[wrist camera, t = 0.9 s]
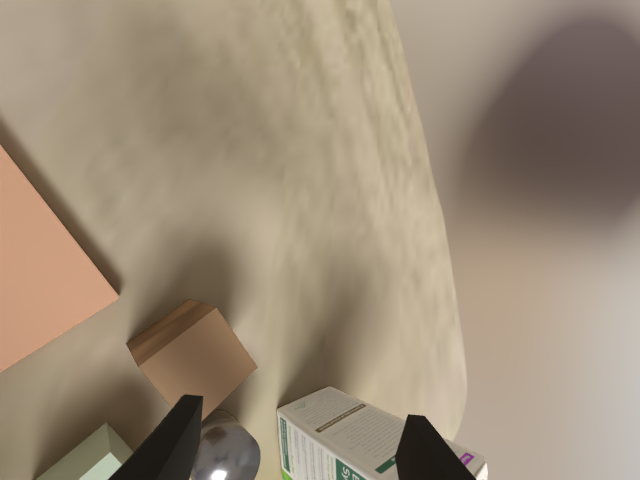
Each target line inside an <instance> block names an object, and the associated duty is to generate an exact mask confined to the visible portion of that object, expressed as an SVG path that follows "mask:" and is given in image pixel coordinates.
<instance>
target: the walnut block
mask: <svg viewBox="0 0 640 480" xmlns="http://www.w3.org/2000/svg"><path fill="white" fill-rule="evenodd" d="M126 344H127V346H128V348H129V350H130V352H131V354H132V356H133V358H134V360H135V362H136V363H137V365H138V367H139V368H140V370H141V371H142V372H143V373H144V374H145V376H146V377H147V378H148V379H149V381H150V382H151V383H152V384H153V385H154V387H155V388H156V389H157V390H158V391H159V393H160V394H161V395H162V396H163V398H164V399H165V400H166V401H167V402H168V404H169V405H170V406H171V407H172V408H173V407H174V406H175V404H176V403H177V402H178V400H179V399H180V398H181V397H182V396H183V395H185V394H188V395H199V396H203V408H202V421H203V420H204V419H205V418H206V417H207V416H208V415H209V414H210V413H211V412H212V411H213V410H214V409H215V408H216V407H217V406H218V405H219V404H220V403H221V402H222V401H223V400H224V399H225V398H227V397H228V396H229V395H230V394H231V393H232V392H233V391H234V390H235V389H236V388H237V387H238V386H239V385H240V384H241V383H242V382H243V381H244V380H245V379H246V378H247V377H248V376H249V375H250V374H251V373H252V372H253V371H254V370H256V369H257V368H258V367H257V365H256V364H255V362H254V361H253V360H252V358H251V357H250V355H249V354H248V352H247V351H246V349H245V348H244V346H243V345H242V344H241V342H240V341H239V339H238V338H237V336H236V335H235V333H234V332H233V331H232V329H231V328H230V326H229V325H228V323H227V322H226V320H225V319H224V318H223V316H222V315H221V313H220V312H219V310H218V309H217V307H214V306H210V305H207V304H203V303H200V302H197V301H193V300H190V299H189V300H187V301H186V302H184V303H183V304H182V305H180V306H179V307H177V308H176V309H175V310H173V311H172V312H170V313H169V314H167V315H166V316H165V317H163V318H162V319H160V320H159V321H158V322H156V323H155V324H153V325H152V326H151V327H149V328H148V329H146V330H145V331H143V332H142V333H141V334H139V335H138V336H136V337H135V338H134V339H132V340H131V341H129V342H128V343H126ZM202 421H201V422H202Z"/></svg>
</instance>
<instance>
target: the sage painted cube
mask: <svg viewBox="0 0 640 480" xmlns="http://www.w3.org/2000/svg"><path fill="white" fill-rule="evenodd" d="M133 453H134V452H133V451H132V449H131V448H130V447H129V446H128V445H127V444H126V443H125V442H124V441H123V440H122V439H121V437H120V436H119V435H118V434H117V433H116V432H115V431H114V430H113V429H112V428H111V426H110V425H109V424H108V423H107V422H106V423H105V424H104V425H102V426H101V427H100V428H99V429H97V430H96V431H95V432H94V433H93V434H91V435H90V436H89V437H88V438H86V439H85V440H84V441H83V442H81V443H80V444H79V445H78V446H77V447H75V448H74V449H73V450H72V451H70V452H69V453H68V454H67V455H65V456H64V457H63V458H62V459H61V460H59V461H58V462H57V463H56V464H54V465H53V466H52V467H51V468H49V469H48V470H47V471H46V472H45V473H43V474H42V475H41V476H40V477H38V478H37V479H36V480H108V479H109V478H110V477H111V476H112V475H113V474H114V473H115V471H116V470H117V469H118V468H119V467H120V466H121V465H122V464H123V463H124V462H125V461H126V460H127V459H128V458H129V457H130V456H131V455H132V454H133Z"/></svg>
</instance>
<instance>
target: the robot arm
mask: <svg viewBox="0 0 640 480" xmlns="http://www.w3.org/2000/svg"><path fill="white" fill-rule="evenodd" d="M202 408H203V396H199V395H188V394H185V395H183V396H182V397H181V398H180V399H179V400H178V402H177V403H176V404H175V406H174V407H173V408H172V409H171V411H170V412H169V413H168V414H167V415H166V417H165V418H164V419H163V420H162V421H161V423H160V424H159V425H158V426H157V427H156V429H155V430H154V431H153V432H152V433H151V434H150V435H149V436H148V438H147V439H146V440H145V441H144V442H143V443H142V444H141V445H140V446H139V448H138V449H137V450H136V451H135V452H134V453H133V454H132V455H131V456H130V457H129V458H128V459H127V460H126V461H125V462H124V463H123V464H122V465H121V466H120V467H119V468H118V469H117V470H116V471H115V473H114V474H113V475H112V476H111V477H110V478H109V479H108V480H189V478H190V475H191V472H192V468H193V465H194V462H195V458H196V454H197V451H198V447H199V444H200V435H201V421H202ZM395 461H396V467H397V473H398V478H399V480H477V479H476V478H475V477H474V476H473V475H472V473H471V472H470V471H469V470H468V469H467V467H466V466H465V465H464V464H463V463H462V462H461V460H460V459H459V458H458V457H457V455H456V454H455V453H454V452H453V451H452V449H451V448H450V447H449V446H448V444H447V443H446V442H445V441H444V439H443V438H442V437H441V436H440V434H439V433H438V432H437V431H436V429H435V428H434V427H433V426H432V424H431V423H430V422H429V421H428V420H427V418H426V417H425V416H420V415H409V414H408V417H407V420H406V423H405V426H404V429H403V432H402V436H401V439H400V442H399V445H398V448H397V451H396V455H395Z"/></svg>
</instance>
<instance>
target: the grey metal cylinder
mask: <svg viewBox="0 0 640 480" xmlns="http://www.w3.org/2000/svg"><path fill="white" fill-rule="evenodd" d="M259 464H260V449H259V446H258V443H257V442H256V440H255V439H254V438H253V437H252V436H251V435H250V434H249V433H248V432H247V431H246V430H245V429H244V428H243V427H242V426H241V425H240V423H239V422H238V421H237V420H236V419H235V418H234V417H233V416H232V415H231V414H229V413H228V412H226V411H223V410H213V411H212V412H211V413H210V414H209V415H208V416H207V417H206V418H205V419H204V420H203V421H202V422H201V435H200V444H199V447H198V451H197V454H196V458H195V462H194V465H193V468H192V472H191V475H190V477H191V479H192V480H254V478H255V476H256V474H257V472H258V468H259Z"/></svg>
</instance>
